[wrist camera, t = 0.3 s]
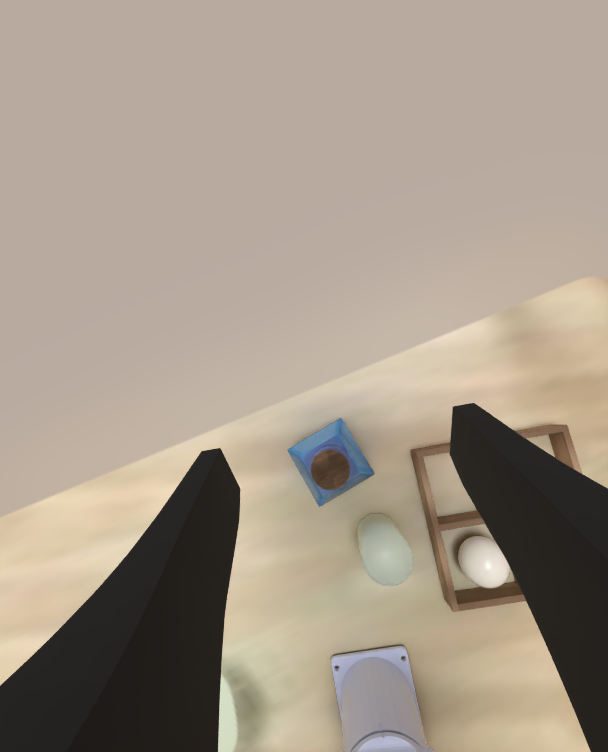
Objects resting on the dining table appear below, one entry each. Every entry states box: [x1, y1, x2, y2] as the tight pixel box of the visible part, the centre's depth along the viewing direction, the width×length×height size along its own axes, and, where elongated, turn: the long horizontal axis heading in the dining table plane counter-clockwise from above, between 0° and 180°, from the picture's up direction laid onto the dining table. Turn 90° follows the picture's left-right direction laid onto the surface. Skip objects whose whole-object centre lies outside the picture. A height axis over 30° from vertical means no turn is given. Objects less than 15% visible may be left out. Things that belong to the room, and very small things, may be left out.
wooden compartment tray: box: [411, 425, 582, 612], centre depth 35 cm, size 16×16×2 cm
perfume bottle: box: [288, 418, 375, 507], centre depth 32 cm, size 6×6×12 cm
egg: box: [458, 536, 510, 588], centre depth 33 cm, size 5×5×5 cm
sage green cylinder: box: [357, 513, 413, 586], centre depth 33 cm, size 5×5×6 cm
